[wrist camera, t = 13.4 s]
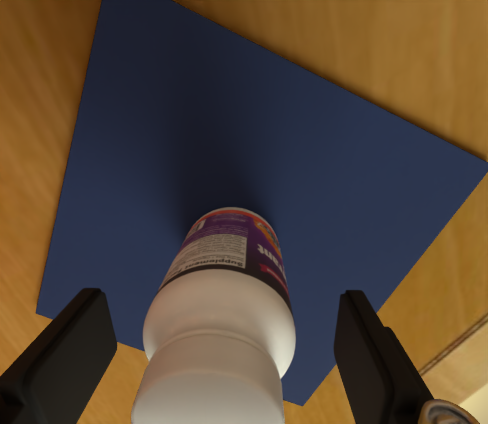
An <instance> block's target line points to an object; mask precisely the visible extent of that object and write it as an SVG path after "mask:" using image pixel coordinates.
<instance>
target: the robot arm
mask: <svg viewBox="0 0 488 424" xmlns="http://www.w3.org/2000/svg"><path fill="white" fill-rule="evenodd" d="M116 350H117V340H116V336H115V332H114V328H113V324H112V319H111V315H110V311H109V307H108V302H107V298H106V294H105V293H104V292H102V291H101V289H100V288H83V289H82V290H81V291H80V292H79V293H78V294H77V295H76V296H75V297H74V298H73V299H72V300H71V301H70V302H69V303H68V304H67V306H66V307H65V308H64V309H63V310H62V311H61V312H60V313H59V314H58V315H57V316H56V317H55V318H54V320H53V321H52V322H51V323H50V324H49V325H48V326H47V327H46V328H45V329H44V330H43V331H42V332H41V333H40V335H39V336H38V337H37V338H36V339H35V340H34V341H33V342H32V343H31V344H30V345H29V346H28V347H27V349H26V350H25V351H24V352H23V353H22V354H21V355H20V356H19V357H18V358H17V359H16V360H15V361H14V362H13V364H12V365H11V366H10V367H9V368H8V369H7V370H6V371H5V372H4V373H3V374H2V375H1V376H0V424H76V423H77V421H78V420H79V418H80V416H81V414H82V412H83V411H84V409H85V407H86V405H87V403H88V402H89V400H90V398H91V396H92V394H93V393H94V391H95V389H96V387H97V385H98V384H99V382H100V380H101V378H102V376H103V375H104V373H105V371H106V369H107V367H108V366H109V364H110V362H111V360H112V358H113V357H114V355H115V353H116ZM333 350H334V356H335V360H336V363H337V366H338V369H339V372H340V375H341V379H342V382H343V385H344V388H345V391H346V394H347V397H348V400H349V404H350V407H351V410H352V413H353V416H354V419H355V422H356V424H480V423H479V422H478V421H477V420H476V419H475V418H474V417H473V416H472V415H471V414H470V413H469V412H467V411H466V410H464V409H463V408H461V407H460V406H458V405H456V404H454V403H451V402H449V401H446V400H441V399H434V397H433V396H432V394H431V393H430V391H429V389H428V388H427V386H426V384H425V383H424V381H423V379H422V378H421V376H420V375H419V373H418V371H417V370H416V368H415V366H414V365H413V363H412V362H411V360H410V358H409V357H408V355H407V353H406V352H405V350H404V348H403V347H402V345H401V344H400V342H399V340H398V339H397V337H396V335H395V334H394V332H393V331H392V330H391V328H389V327H384V326H383V324H382V323H381V321H380V319H379V317H378V316H377V314H376V312H375V311H374V309H373V307H372V305H371V304H370V302H369V300H368V299H367V297H366V295H365V293H364V292H363V291H362V290H346V291H345V294H341V295H340V301H339V309H338V316H337V324H336V331H335V339H334V347H333Z"/></svg>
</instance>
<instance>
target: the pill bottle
mask: <svg viewBox="0 0 488 424" xmlns="http://www.w3.org/2000/svg"><path fill="white" fill-rule="evenodd" d="M295 343H296V335H295V324H294V318H293V313H292V308H291V303H290V298H289V292H288V287H287V282H286V277H285V271H284V266H283V261H282V256H281V251H280V246H279V242H278V240H277V237H276V234H275V232H274V231H273V229H272V227H271V226H270V225H269V224H268V222H267V221H266V220H264V219H263V218H262V217H261V216H259V215H258V214H256V213H254V212H252V211H249V210H246V209H243V208H236V207H226V208H220V209H216V210H213V211H211V212H209V213H207V214H205V215H204V216H202V217H201V218H200V219H199V220H198V221H197V222H196V223H195V224H194V225H193V227H192V228H191V230H190V231H189V233H188V234H187V236H186V238H185V240H184V242H183V244H182V246H181V248H180V250H179V251H178V253H177V255H176V257H175V259H174V261H173V262H172V265H171V266H170V268H169V270H168V272H167V274H166V276H165V278H164V280H163V282H162V284H161V286H160V288H159V290H158V292H157V294H156V296H155V297H154V300H153V302H152V304H151V306H150V308H149V310H148V313H147V315H146V318H145V321H144V327H143V345H144V349H145V353H146V356H147V358H148V360H149V364H148V366H147V368H146V369H145V372H144V375H143V378H142V381H141V384H140V387H139V389H138V392H137V395H136V398H135V401H134V404H133V407H132V411H131V424H285V420H284V409H283V396H282V384H281V380H280V379H281V378H282V377H283V375H284V374H285V372H286V371H287V369H288V367H289V366H290V363H291V361H292V358H293V355H294V351H295Z"/></svg>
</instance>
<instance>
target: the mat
mask: <svg viewBox="0 0 488 424" xmlns="http://www.w3.org/2000/svg"><path fill="white" fill-rule="evenodd" d="M487 172H488V162H486V161H484V160H482V159H480V158H478V157H476V156H474V155H472V154H470V153H469V152H467V151H465V150H463V149H461V148H459V147H457V146H455V145H453V144H451V143H449V142H447V141H445V140H443V139H441V138H439V137H437V136H435V135H433V134H431V133H429V132H428V131H426V130H424V129H422V128H420V127H418V126H416V125H414V124H412V123H410V122H408V121H406V120H404V119H402V118H400V117H398V116H396V115H394V114H392V113H390V112H388V111H386V110H385V109H383V108H381V107H379V106H377V105H375V104H373V103H371V102H369V101H367V100H365V99H363V98H361V97H359V96H357V95H355V94H353V93H351V92H349V91H347V90H345V89H344V88H342V87H340V86H338V85H336V84H334V83H332V82H330V81H328V80H326V79H324V78H322V77H320V76H318V75H316V74H314V73H312V72H310V71H308V70H306V69H304V68H303V67H301V66H299V65H297V64H295V63H293V62H291V61H289V60H287V59H285V58H283V57H281V56H279V55H277V54H275V53H273V52H271V51H269V50H267V49H265V48H263V47H262V46H260V45H258V44H256V43H254V42H252V41H250V40H248V39H246V38H244V37H242V36H240V35H238V34H236V33H234V32H232V31H230V30H228V29H226V28H224V27H222V26H221V25H219V24H217V23H215V22H213V21H211V20H209V19H207V18H205V17H203V16H201V15H199V14H197V13H195V12H193V11H191V10H189V9H187V8H185V7H183V6H181V5H179V4H178V3H176V2H174V1H172V0H102V2H101V7H100V12H99V16H98V21H97V26H96V30H95V35H94V40H93V45H92V49H91V54H90V59H89V63H88V68H87V73H86V78H85V82H84V87H83V92H82V96H81V101H80V106H79V111H78V115H77V120H76V125H75V129H74V134H73V139H72V144H71V148H70V153H69V158H68V162H67V167H66V172H65V177H64V181H63V186H62V191H61V195H60V200H59V205H58V210H57V214H56V219H55V224H54V228H53V233H52V238H51V243H50V247H49V252H48V257H47V262H46V266H45V271H44V276H43V280H42V285H41V290H40V295H39V299H38V304H37V309H36V314H39V315H42V316H45V317H48V318H50V319H53V320H54V318H55V317H56V316H57V315H58V314H59V313H60V312H61V311H62V310H63V309H64V308H65V307H66V306H67V304H68V303H69V302H70V301H71V300H72V299H73V298H74V297H75V296H76V295H77V294H78V293H79V292H80V291H81V290H82V289H83V288H100V289H101V291H102V292H104V293H105V294H106V298H107V302H108V307H109V311H110V315H111V319H112V324H113V328H114V332H115V336H116V340H117V342H119V343H122V344H125V345H128V346H131V347H134V348H137V349H139V350H142V351H145V349H144V345H143V327H144V321H145V318H146V315H147V313H148V310H149V308H150V306H151V304H152V302H153V300H154V297H155V296H156V294H157V292H158V290H159V288H160V286H161V284H162V282H163V280H164V278H165V276H166V274H167V272H168V270H169V268H170V266H171V265H172V262H173V261H174V259H175V257H176V255H177V253H178V251H179V250H180V248H181V246H182V244H183V242H184V240H185V238H186V236H187V234H188V233H189V231H190V230H191V228H192V227H193V225H194V224H195V223H196V222H197V221H198V220H199V219H200V218H201V217H202V216H204V215H205V214H207V213H209V212H211V211H213V210H216V209H220V208H226V207H236V208H243V209H246V210H249V211H252V212H254V213H256V214H258V215H259V216H261V217H262V218H263V219H264V220H266V221H267V222H268V224H269V225H270V226H271V227H272V229H273V231H274V232H275V234H276V237H277V240H278V242H279V246H280V251H281V256H282V261H283V266H284V271H285V277H286V282H287V287H288V292H289V298H290V303H291V308H292V313H293V318H294V324H295V335H296V343H295V351H294V355H293V358H292V361H291V363H290V366H289V367H288V369H287V371H286V372H285V374H284V375H283V377H282V378H281V379H280V380H281V384H282V396H283V400H286V401H289V402H291V403H294V404H297V405H300V406H303V405H304V404H305V403H306V401H307V400H308V399H309V398H310V396H311V395H312V394H313V393H314V391H315V390H316V389H317V388H318V386H319V385H320V384H321V382H322V381H323V380H324V379H325V377H326V376H327V375H328V374H329V372H330V371H331V370H332V369H333V367H334V366H335V365H336V360H335V356H334V350H333V347H334V339H335V331H336V324H337V316H338V309H339V301H340V295H341V294H345V291H346V290H362V291H363V292H364V293H365V295H366V297H367V299H368V300H369V302H370V304H371V305H372V307H373V309H374V311H375V312H376V313H377V312H378V310H379V309H380V308H381V306H382V305H383V304H384V303H385V301H386V300H387V299H388V298H389V296H390V295H391V294H392V293H393V291H394V290H395V289H396V287H397V286H398V285H399V284H400V282H401V281H402V280H403V279H404V277H405V276H406V275H407V274H408V272H409V271H410V270H411V268H412V267H413V266H414V265H415V263H416V262H417V261H418V260H419V258H420V257H421V256H422V255H423V253H424V252H425V251H426V249H427V248H428V247H429V246H430V244H431V243H432V242H433V241H434V239H435V238H436V237H437V236H438V234H439V233H440V232H441V230H442V229H443V228H444V227H445V225H446V224H447V223H448V222H449V220H450V219H451V218H452V217H453V215H454V214H455V213H456V211H457V210H458V209H459V208H460V206H461V205H462V204H463V203H464V201H465V200H466V199H467V198H468V196H469V195H470V194H471V192H472V191H473V190H474V189H475V187H476V186H477V185H478V184H479V182H480V181H481V180H482V179H483V177H484V176H485V175H486V173H487Z"/></svg>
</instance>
